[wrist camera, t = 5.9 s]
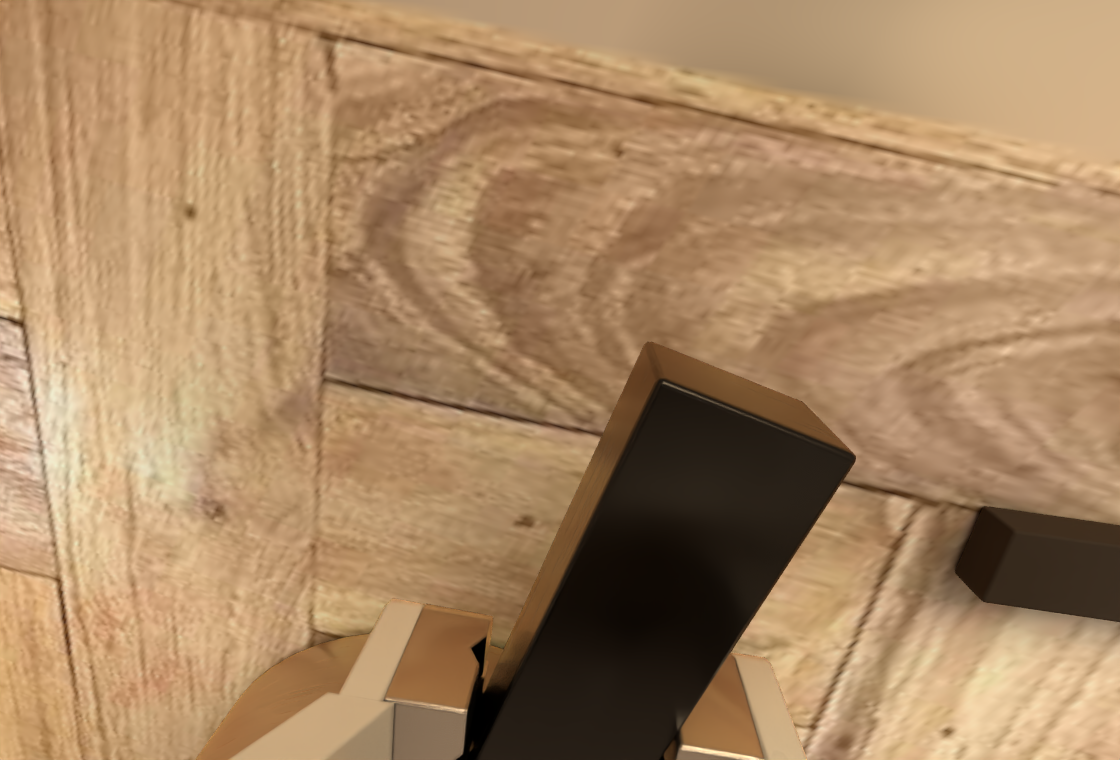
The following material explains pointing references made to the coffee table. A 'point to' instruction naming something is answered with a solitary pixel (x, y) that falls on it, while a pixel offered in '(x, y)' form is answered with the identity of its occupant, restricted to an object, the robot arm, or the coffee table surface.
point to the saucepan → (627, 574)
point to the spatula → (1044, 563)
